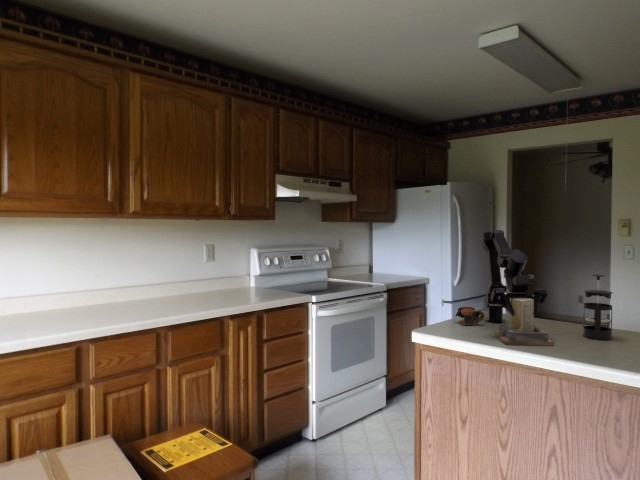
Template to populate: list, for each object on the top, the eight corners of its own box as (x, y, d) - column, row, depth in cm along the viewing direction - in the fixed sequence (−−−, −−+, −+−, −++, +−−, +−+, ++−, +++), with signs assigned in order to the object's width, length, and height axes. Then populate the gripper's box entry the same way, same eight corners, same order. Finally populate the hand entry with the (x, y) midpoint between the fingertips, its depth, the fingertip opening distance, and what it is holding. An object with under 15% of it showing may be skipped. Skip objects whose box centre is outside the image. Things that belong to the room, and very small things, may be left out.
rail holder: (494, 335, 169) (494, 324, 169) (539, 336, 168) (539, 325, 168) (505, 344, 156) (505, 332, 156) (554, 345, 155) (554, 333, 155)
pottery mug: (453, 326, 188) (451, 307, 192) (462, 332, 195) (460, 314, 199) (482, 322, 181) (480, 302, 185) (490, 329, 188) (488, 310, 192)
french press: (613, 342, 160) (614, 276, 160) (582, 338, 165) (583, 275, 164) (611, 335, 170) (612, 273, 170) (582, 332, 175) (583, 272, 174)
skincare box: (524, 330, 166) (524, 297, 165) (534, 333, 162) (534, 299, 161) (510, 332, 163) (511, 298, 163) (520, 335, 159) (521, 300, 159)
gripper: (493, 266, 166) (502, 301, 156) (546, 266, 165) (559, 302, 154) (487, 284, 175) (495, 319, 164) (537, 285, 173) (549, 320, 162)
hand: (524, 315), depth 161 cm, fingers closed on skincare box, 7 cm apart
